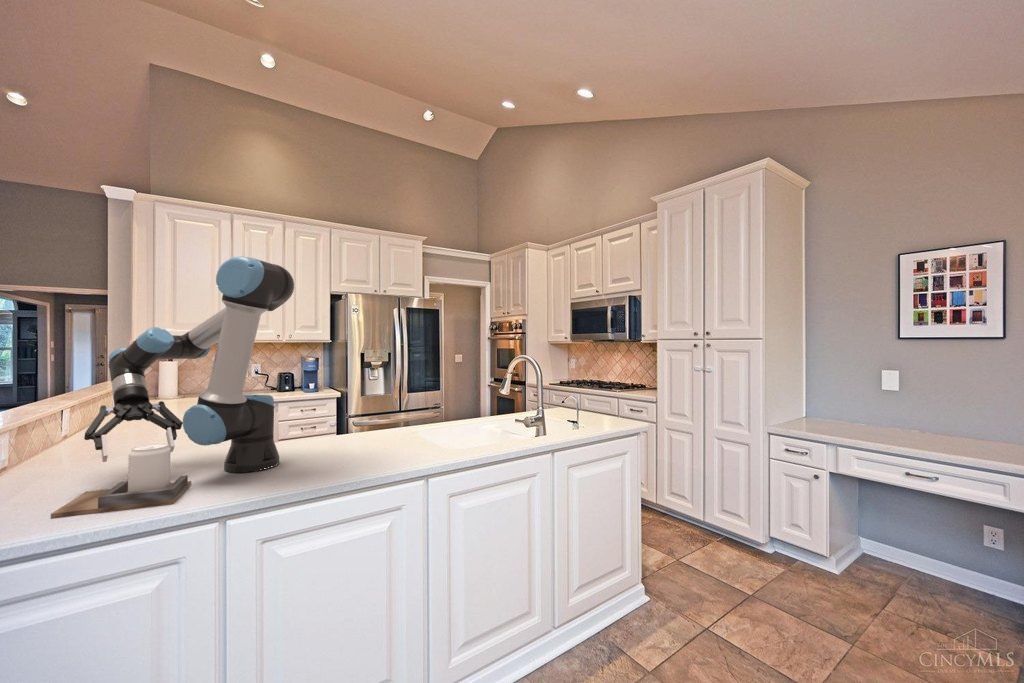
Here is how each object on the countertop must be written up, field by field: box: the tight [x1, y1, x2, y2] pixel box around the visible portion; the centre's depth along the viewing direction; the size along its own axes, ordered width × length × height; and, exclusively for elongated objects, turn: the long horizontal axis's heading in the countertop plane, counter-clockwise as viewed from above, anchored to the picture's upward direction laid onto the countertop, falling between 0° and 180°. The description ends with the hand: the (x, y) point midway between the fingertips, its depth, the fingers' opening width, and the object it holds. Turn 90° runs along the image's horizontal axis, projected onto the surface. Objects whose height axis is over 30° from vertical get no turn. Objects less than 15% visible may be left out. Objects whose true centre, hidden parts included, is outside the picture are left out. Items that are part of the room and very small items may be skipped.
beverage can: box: [127, 442, 172, 492], centre depth 108 cm, size 8×8×12 cm
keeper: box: [50, 474, 192, 519], centre depth 107 cm, size 22×16×4 cm
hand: (140, 453), depth 114 cm, fingers open, 13 cm apart
